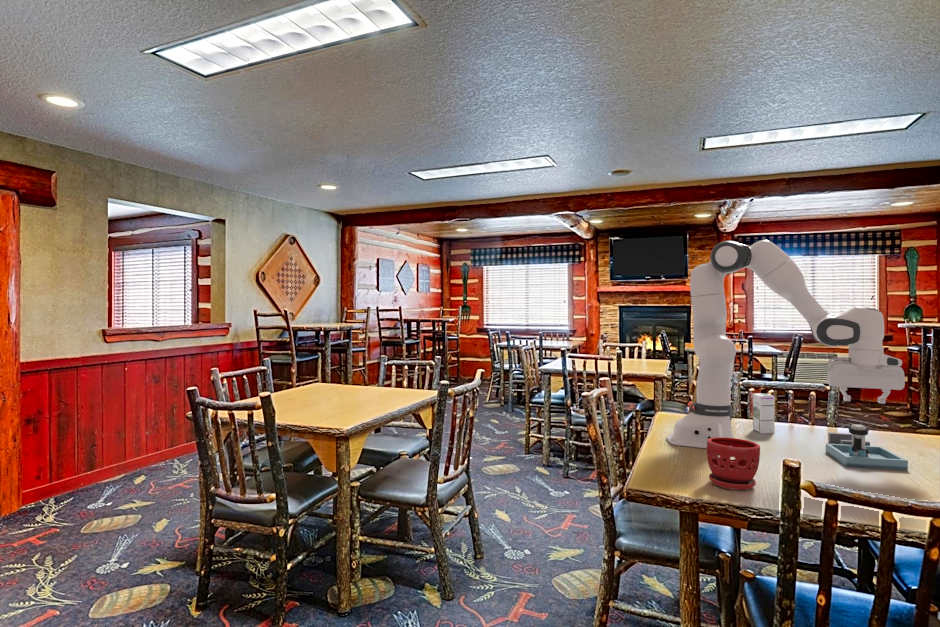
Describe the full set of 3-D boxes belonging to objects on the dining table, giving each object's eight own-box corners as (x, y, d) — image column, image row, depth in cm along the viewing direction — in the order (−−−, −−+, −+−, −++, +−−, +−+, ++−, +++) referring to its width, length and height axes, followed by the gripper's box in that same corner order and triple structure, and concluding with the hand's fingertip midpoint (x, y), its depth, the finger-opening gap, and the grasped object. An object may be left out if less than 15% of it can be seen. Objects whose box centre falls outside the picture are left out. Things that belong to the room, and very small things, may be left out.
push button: (877, 459, 168) (877, 427, 168) (866, 461, 166) (866, 429, 165) (854, 453, 174) (854, 422, 174) (844, 455, 172) (844, 424, 171)
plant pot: (762, 496, 139) (762, 449, 139) (706, 489, 144) (706, 444, 144) (757, 480, 151) (757, 438, 151) (706, 474, 156) (706, 433, 156)
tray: (846, 466, 164) (846, 456, 164) (825, 452, 179) (825, 443, 179) (907, 470, 160) (907, 460, 160) (881, 455, 175) (881, 446, 175)
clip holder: (842, 451, 181) (842, 440, 180) (828, 442, 192) (828, 432, 192) (869, 452, 179) (870, 442, 178) (853, 443, 190) (854, 433, 190)
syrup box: (775, 433, 205) (775, 395, 205) (759, 433, 205) (759, 395, 205) (767, 429, 211) (767, 393, 211) (751, 429, 211) (752, 393, 211)
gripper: (832, 357, 168) (830, 401, 169) (908, 360, 163) (906, 406, 164) (824, 355, 174) (822, 398, 175) (897, 358, 169) (896, 402, 170)
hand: (864, 402), depth 169 cm, fingers open, 8 cm apart
